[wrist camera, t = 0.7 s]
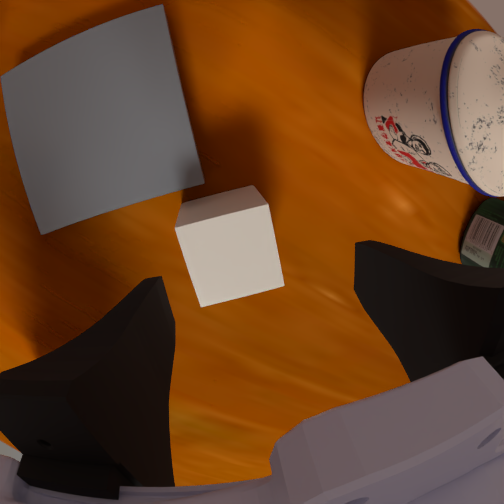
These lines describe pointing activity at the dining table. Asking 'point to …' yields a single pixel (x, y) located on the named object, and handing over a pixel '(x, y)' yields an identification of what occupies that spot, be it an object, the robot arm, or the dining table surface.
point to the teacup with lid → (443, 108)
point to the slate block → (101, 121)
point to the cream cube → (229, 245)
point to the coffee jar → (485, 236)
